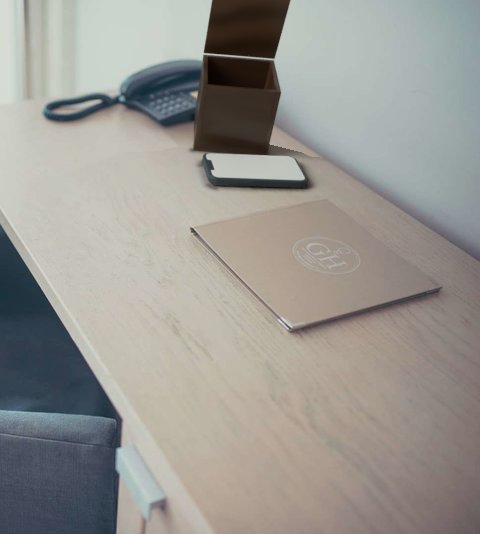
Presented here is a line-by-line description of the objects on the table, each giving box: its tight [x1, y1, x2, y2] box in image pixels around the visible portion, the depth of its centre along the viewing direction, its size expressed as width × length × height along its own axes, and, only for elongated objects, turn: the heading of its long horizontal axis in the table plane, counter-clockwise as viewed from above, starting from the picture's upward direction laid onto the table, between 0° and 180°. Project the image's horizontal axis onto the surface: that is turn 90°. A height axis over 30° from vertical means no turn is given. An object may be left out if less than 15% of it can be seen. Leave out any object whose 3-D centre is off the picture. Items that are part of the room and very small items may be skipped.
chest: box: [192, 54, 282, 155], centre depth 114 cm, size 15×13×12 cm
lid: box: [203, 0, 291, 60], centre depth 112 cm, size 15×13×9 cm
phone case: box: [201, 152, 308, 189], centre depth 106 cm, size 9×2×16 cm
